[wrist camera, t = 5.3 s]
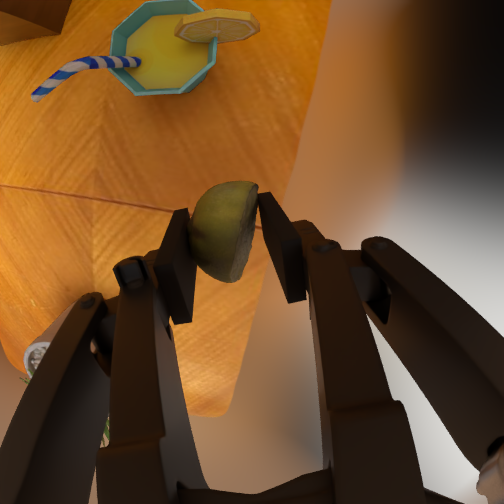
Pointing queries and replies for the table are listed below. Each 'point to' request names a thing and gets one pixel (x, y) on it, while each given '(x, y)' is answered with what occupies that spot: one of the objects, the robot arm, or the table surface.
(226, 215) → the lime
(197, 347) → the table surface
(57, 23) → the dark brown box
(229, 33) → the cup
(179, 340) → the table surface
